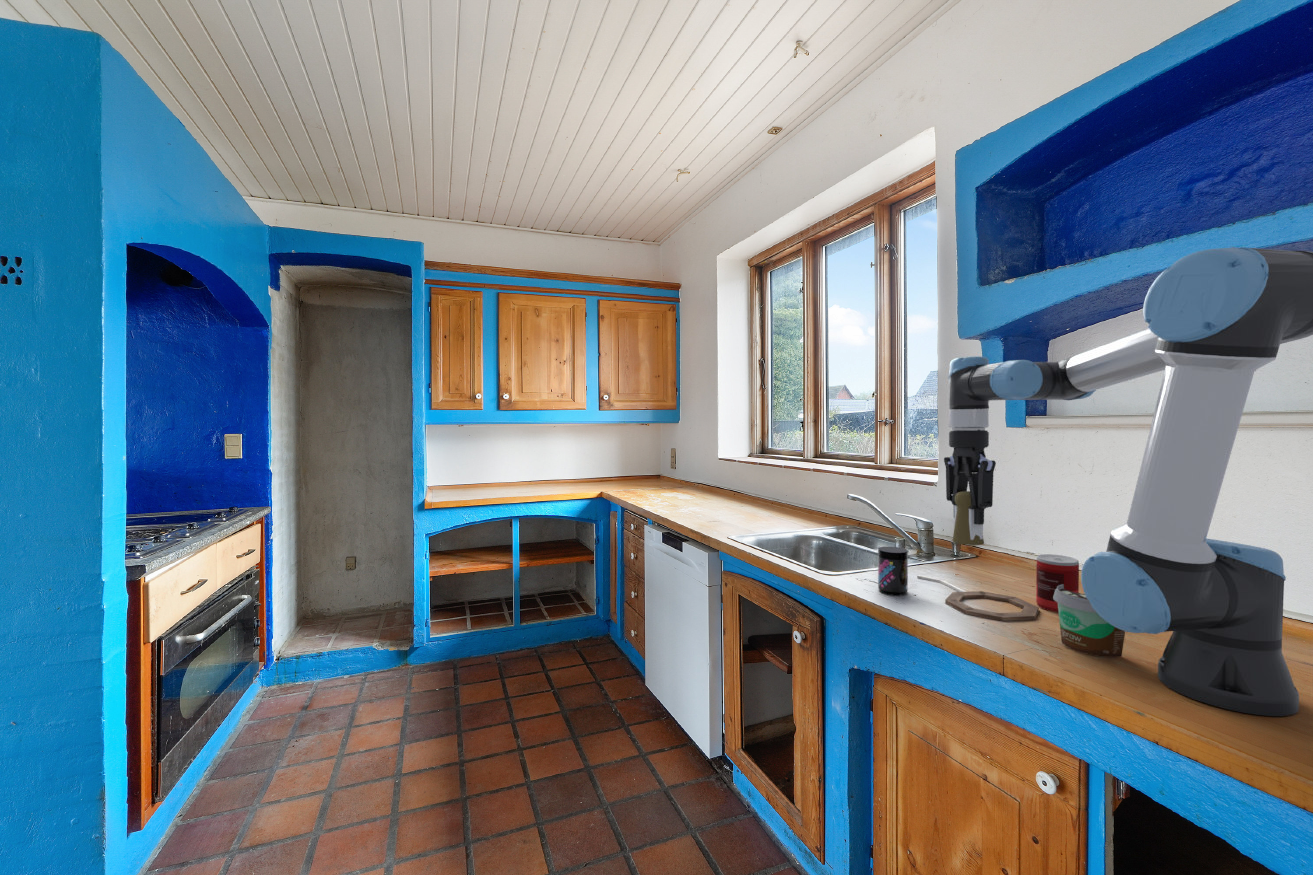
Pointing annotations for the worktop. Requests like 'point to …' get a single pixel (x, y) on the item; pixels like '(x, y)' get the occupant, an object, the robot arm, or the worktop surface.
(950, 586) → the lace cord
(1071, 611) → the food container
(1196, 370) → the robot arm
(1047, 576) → the canned food
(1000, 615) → the ring
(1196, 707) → the worktop surface
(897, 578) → the supplement container
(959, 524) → the olive green pawn
